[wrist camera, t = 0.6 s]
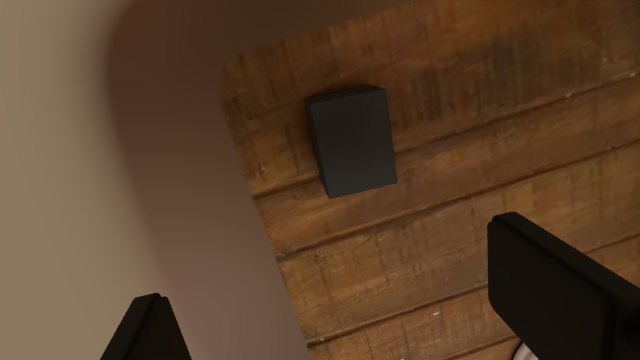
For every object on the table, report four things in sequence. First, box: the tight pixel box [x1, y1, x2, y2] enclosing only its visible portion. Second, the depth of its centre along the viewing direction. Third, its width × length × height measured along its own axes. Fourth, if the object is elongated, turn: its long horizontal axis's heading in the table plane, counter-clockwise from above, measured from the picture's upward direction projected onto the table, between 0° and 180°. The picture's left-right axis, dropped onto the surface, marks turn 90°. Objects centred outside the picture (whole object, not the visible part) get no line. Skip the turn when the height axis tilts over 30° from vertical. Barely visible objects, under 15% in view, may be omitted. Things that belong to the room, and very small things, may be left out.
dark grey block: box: [305, 85, 397, 199], centre depth 23 cm, size 6×4×4 cm
